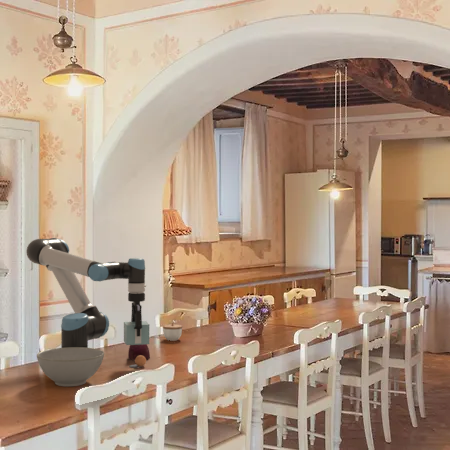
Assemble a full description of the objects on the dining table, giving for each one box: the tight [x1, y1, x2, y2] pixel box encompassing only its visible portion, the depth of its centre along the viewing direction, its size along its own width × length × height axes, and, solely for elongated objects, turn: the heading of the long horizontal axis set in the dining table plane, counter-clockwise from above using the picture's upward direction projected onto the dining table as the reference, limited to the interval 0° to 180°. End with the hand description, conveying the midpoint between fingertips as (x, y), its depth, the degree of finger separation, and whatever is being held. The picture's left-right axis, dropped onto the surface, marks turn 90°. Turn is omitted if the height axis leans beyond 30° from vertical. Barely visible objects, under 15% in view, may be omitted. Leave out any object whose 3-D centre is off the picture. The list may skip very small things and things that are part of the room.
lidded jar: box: [162, 322, 183, 342], centre depth 381 cm, size 11×11×9 cm
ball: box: [134, 355, 147, 367], centre depth 313 cm, size 5×5×5 cm
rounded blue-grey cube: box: [123, 320, 150, 346], centre depth 312 cm, size 10×10×9 cm
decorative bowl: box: [36, 347, 105, 387], centre depth 280 cm, size 27×27×12 cm
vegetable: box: [127, 344, 151, 361], centre depth 330 cm, size 10×10×15 cm
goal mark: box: [128, 364, 143, 369], centre depth 312 cm, size 6×6×1 cm
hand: (136, 341), depth 312 cm, fingers closed on rounded blue-grey cube, 10 cm apart
